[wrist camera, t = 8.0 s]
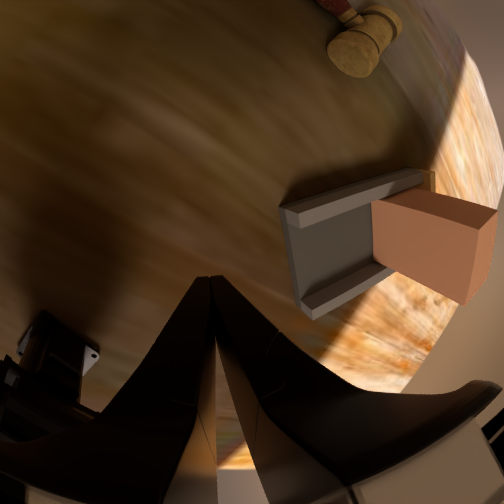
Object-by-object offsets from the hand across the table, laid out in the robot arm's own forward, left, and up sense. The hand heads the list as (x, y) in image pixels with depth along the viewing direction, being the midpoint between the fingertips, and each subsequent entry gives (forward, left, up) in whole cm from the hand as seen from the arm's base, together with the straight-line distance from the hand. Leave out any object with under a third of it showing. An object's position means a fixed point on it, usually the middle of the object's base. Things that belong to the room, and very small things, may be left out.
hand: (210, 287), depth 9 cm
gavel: (+23, +10, -13) cm, 29 cm away
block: (+16, -16, -11) cm, 25 cm away
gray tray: (+13, -14, -12) cm, 23 cm away
